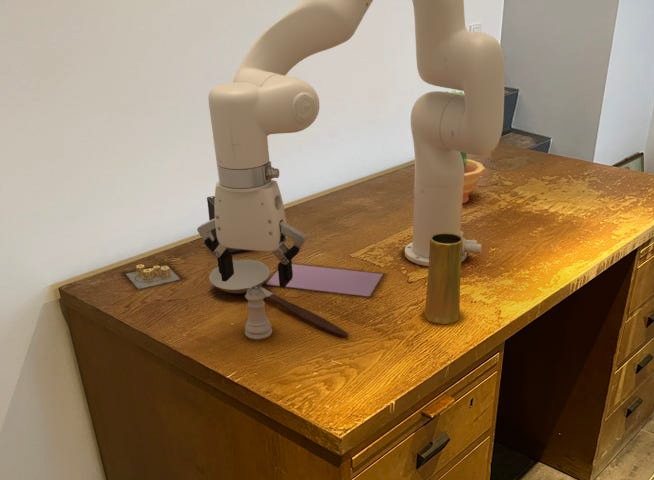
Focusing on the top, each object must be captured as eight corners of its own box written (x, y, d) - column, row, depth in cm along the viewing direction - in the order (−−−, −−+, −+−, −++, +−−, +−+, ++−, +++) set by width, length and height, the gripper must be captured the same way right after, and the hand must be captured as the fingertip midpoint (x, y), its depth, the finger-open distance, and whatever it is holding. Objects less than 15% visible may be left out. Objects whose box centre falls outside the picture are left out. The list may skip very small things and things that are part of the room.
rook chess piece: (267, 342, 118) (263, 297, 113) (241, 339, 118) (236, 294, 114) (276, 329, 121) (272, 285, 117) (250, 326, 122) (246, 282, 118)
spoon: (246, 267, 141) (244, 253, 139) (371, 330, 123) (370, 315, 121) (199, 290, 134) (196, 275, 133) (324, 359, 116) (322, 344, 115)
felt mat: (383, 274, 140) (383, 274, 140) (369, 297, 132) (369, 296, 132) (284, 264, 144) (284, 263, 144) (265, 284, 136) (265, 284, 136)
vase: (422, 308, 128) (425, 231, 121) (456, 307, 129) (461, 230, 121) (426, 325, 123) (430, 245, 116) (462, 324, 123) (468, 244, 116)
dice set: (171, 278, 138) (170, 268, 137) (144, 284, 136) (143, 274, 135) (162, 268, 142) (161, 259, 141) (136, 274, 140) (135, 265, 139)
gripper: (309, 170, 107) (316, 276, 117) (201, 162, 111) (216, 266, 120) (291, 186, 101) (300, 297, 110) (178, 178, 105) (195, 285, 114)
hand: (256, 280), depth 115 cm, fingers open, 9 cm apart
